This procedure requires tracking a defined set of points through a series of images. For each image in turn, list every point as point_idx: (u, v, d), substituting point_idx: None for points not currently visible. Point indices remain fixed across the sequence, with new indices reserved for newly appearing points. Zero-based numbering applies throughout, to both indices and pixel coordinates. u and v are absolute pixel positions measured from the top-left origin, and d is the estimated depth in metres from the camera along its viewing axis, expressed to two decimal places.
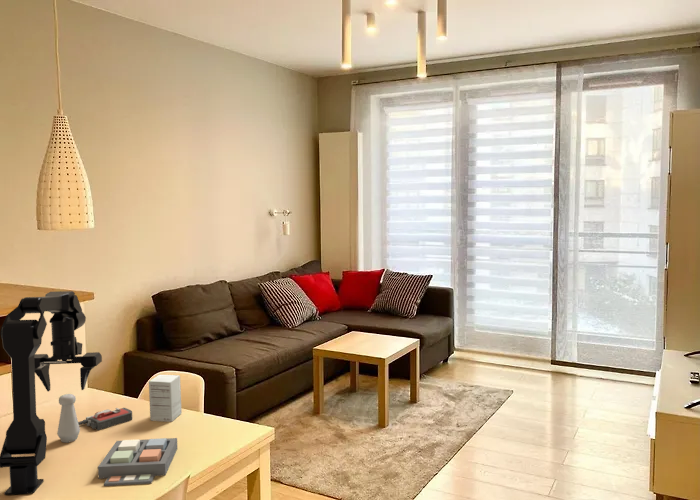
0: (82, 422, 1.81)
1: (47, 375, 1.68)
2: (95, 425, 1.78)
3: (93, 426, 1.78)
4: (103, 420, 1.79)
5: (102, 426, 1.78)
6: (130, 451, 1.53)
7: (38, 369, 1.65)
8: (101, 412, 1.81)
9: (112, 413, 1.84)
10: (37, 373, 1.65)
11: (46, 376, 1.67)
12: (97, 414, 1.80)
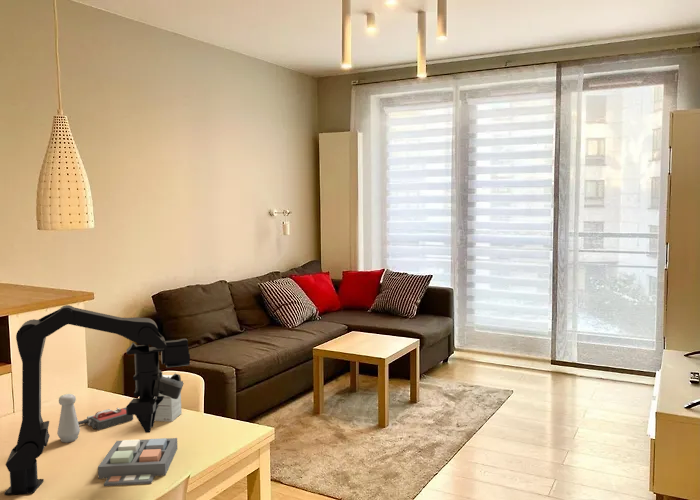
0: (83, 421, 1.82)
1: None
2: (95, 425, 1.78)
3: (93, 426, 1.78)
4: (103, 420, 1.79)
5: (102, 426, 1.79)
6: (130, 451, 1.53)
7: None
8: (102, 412, 1.82)
9: (113, 413, 1.84)
10: None
11: None
12: (98, 414, 1.81)
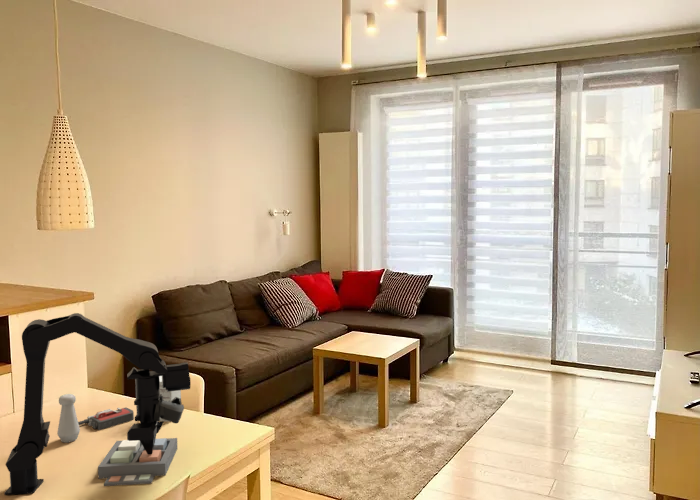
0: (83, 422, 1.82)
1: None
2: (96, 425, 1.78)
3: (94, 426, 1.78)
4: (104, 420, 1.79)
5: (103, 426, 1.79)
6: (130, 451, 1.53)
7: None
8: (102, 412, 1.82)
9: (113, 413, 1.84)
10: None
11: None
12: (98, 414, 1.81)
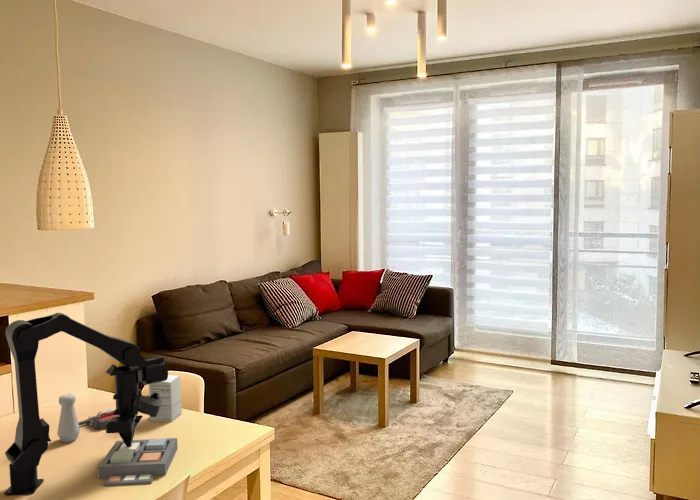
0: (85, 422, 1.82)
1: None
2: (98, 425, 1.78)
3: (96, 426, 1.78)
4: (106, 420, 1.79)
5: (105, 426, 1.79)
6: (130, 451, 1.53)
7: None
8: (104, 412, 1.82)
9: None
10: None
11: None
12: (100, 414, 1.81)
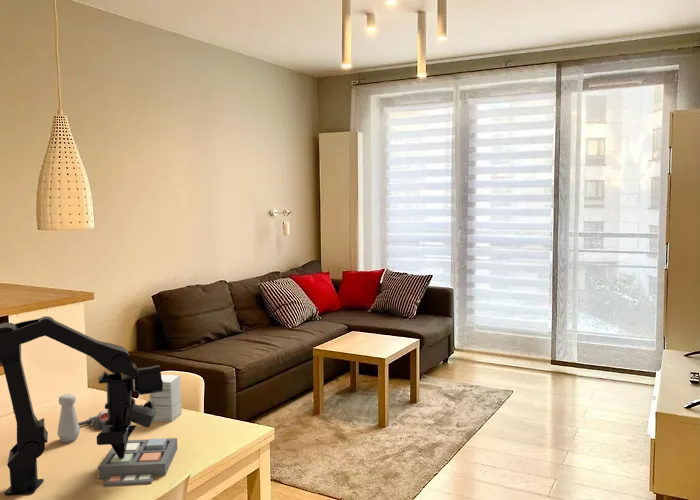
0: (86, 422, 1.81)
1: None
2: (99, 425, 1.78)
3: (97, 426, 1.78)
4: None
5: (106, 426, 1.79)
6: (130, 455, 1.53)
7: None
8: (105, 412, 1.82)
9: None
10: None
11: None
12: (101, 414, 1.81)
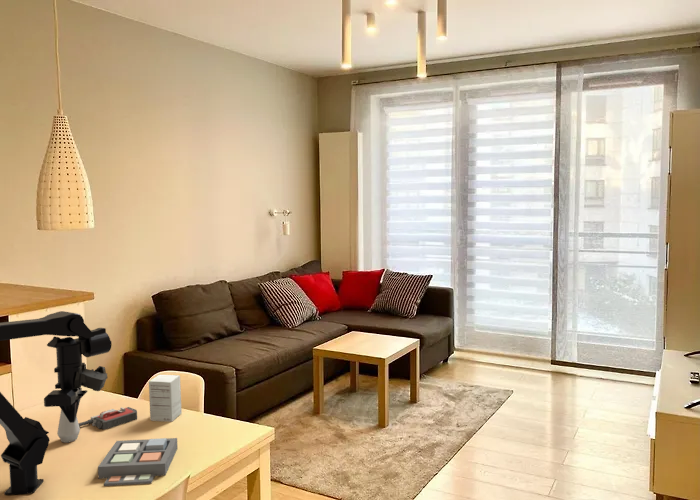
0: (87, 422, 1.81)
1: None
2: (101, 425, 1.78)
3: (99, 426, 1.78)
4: (109, 420, 1.79)
5: (108, 426, 1.79)
6: (130, 455, 1.53)
7: None
8: (106, 412, 1.82)
9: (117, 413, 1.84)
10: None
11: None
12: (102, 414, 1.81)
